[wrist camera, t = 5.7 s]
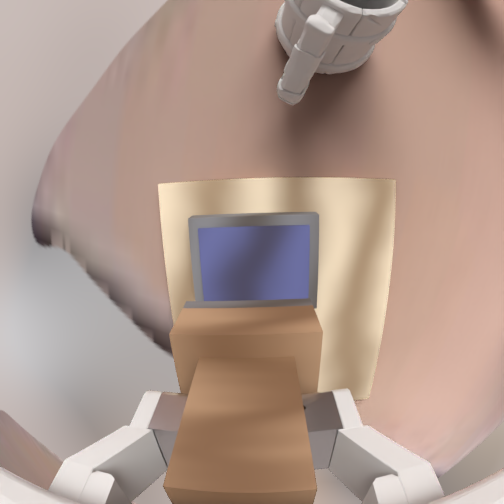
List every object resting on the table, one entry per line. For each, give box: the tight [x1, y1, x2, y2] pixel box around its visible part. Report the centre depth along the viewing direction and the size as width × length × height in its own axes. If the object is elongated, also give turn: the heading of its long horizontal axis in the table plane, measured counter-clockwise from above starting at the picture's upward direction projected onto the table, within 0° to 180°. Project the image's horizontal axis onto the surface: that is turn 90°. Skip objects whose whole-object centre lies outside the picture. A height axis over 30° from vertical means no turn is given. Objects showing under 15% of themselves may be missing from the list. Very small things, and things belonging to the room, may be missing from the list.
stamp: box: [163, 298, 323, 504], centre depth 8 cm, size 4×4×7 cm
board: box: [158, 177, 396, 400], centre depth 24 cm, size 18×21×3 cm
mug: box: [275, 0, 408, 105], centre depth 14 cm, size 8×12×12 cm, turn 154°
